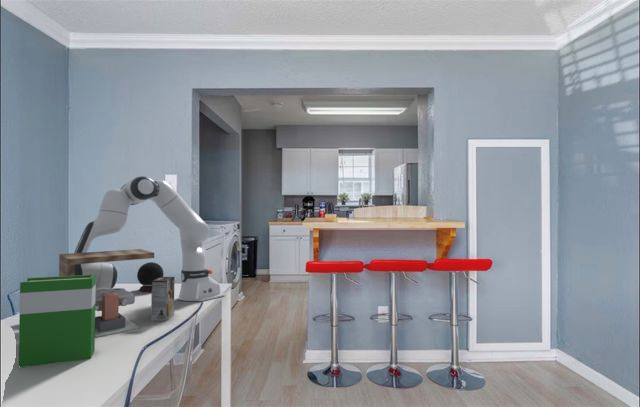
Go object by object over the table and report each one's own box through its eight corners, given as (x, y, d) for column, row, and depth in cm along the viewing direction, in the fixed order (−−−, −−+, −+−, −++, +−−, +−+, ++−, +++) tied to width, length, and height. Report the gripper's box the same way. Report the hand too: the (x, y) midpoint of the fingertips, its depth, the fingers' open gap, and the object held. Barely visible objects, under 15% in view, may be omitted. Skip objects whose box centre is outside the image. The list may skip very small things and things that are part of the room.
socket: (126, 319, 154) (126, 309, 154) (139, 328, 143) (139, 318, 143) (80, 327, 143) (80, 316, 143) (90, 338, 132) (90, 326, 132)
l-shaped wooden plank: (139, 316, 158) (140, 249, 158) (153, 326, 146) (154, 252, 146) (57, 331, 139) (59, 254, 139) (66, 343, 127) (67, 258, 127)
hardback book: (18, 367, 108) (20, 282, 108) (26, 358, 115) (28, 277, 115) (90, 358, 115) (92, 278, 115) (94, 350, 122) (95, 274, 122)
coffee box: (159, 314, 162) (159, 276, 162) (174, 314, 162) (175, 276, 162) (150, 321, 152) (151, 280, 153) (167, 320, 153) (167, 280, 153)
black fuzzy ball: (132, 290, 207) (132, 262, 207) (155, 286, 217) (155, 260, 217) (144, 293, 199) (145, 265, 199) (168, 289, 209) (168, 262, 209)
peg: (114, 324, 146) (115, 292, 146) (118, 327, 143) (118, 294, 143) (101, 326, 143) (102, 294, 143) (104, 329, 140) (105, 296, 140)
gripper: (70, 295, 146) (78, 301, 135) (128, 287, 159) (139, 293, 149) (70, 311, 145) (78, 319, 135) (128, 302, 159) (139, 309, 149)
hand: (110, 305), depth 142 cm, fingers open, 8 cm apart
